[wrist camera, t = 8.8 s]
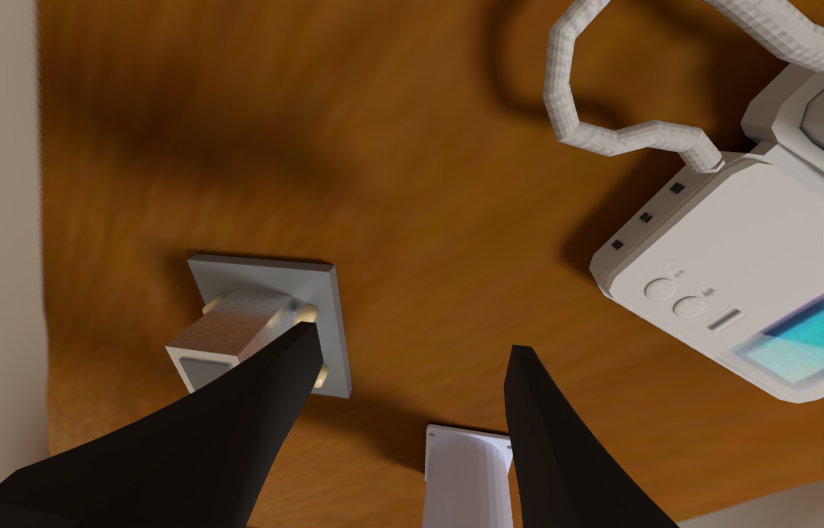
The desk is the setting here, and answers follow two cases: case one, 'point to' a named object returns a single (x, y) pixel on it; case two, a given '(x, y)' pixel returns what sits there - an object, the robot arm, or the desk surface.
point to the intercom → (724, 211)
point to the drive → (230, 335)
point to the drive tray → (310, 295)
